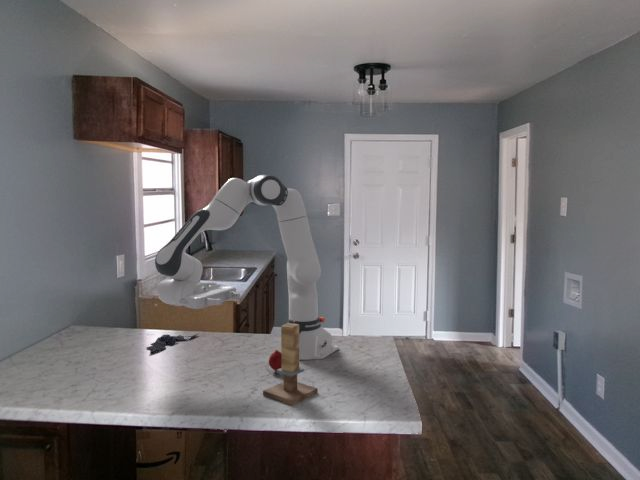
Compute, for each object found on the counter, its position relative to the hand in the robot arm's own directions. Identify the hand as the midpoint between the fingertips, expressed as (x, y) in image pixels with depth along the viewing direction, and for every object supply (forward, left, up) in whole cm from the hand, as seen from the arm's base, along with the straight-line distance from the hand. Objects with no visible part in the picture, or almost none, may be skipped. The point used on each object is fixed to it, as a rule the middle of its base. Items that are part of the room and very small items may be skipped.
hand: (230, 299), depth 172 cm
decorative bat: (-12, -52, -29) cm, 61 cm away
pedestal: (-4, +22, -28) cm, 36 cm away
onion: (-16, +5, -28) cm, 33 cm away
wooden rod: (-4, +22, -20) cm, 30 cm away
